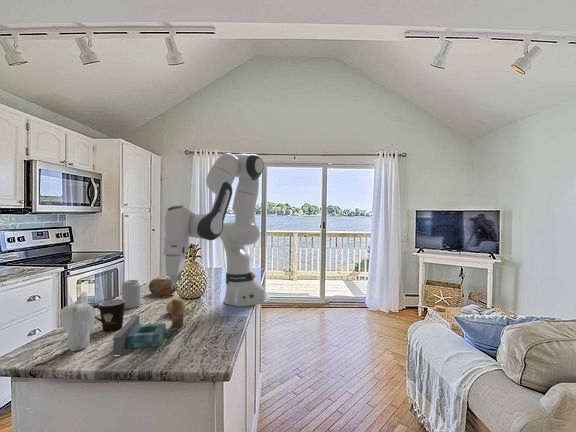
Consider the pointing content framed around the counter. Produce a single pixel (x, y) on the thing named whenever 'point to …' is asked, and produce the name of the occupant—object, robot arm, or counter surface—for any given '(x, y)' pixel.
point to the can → (131, 293)
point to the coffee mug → (111, 314)
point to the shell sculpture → (78, 322)
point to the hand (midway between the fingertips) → (176, 283)
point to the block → (146, 335)
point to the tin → (161, 287)
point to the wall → (124, 335)
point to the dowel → (177, 313)
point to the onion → (169, 306)
